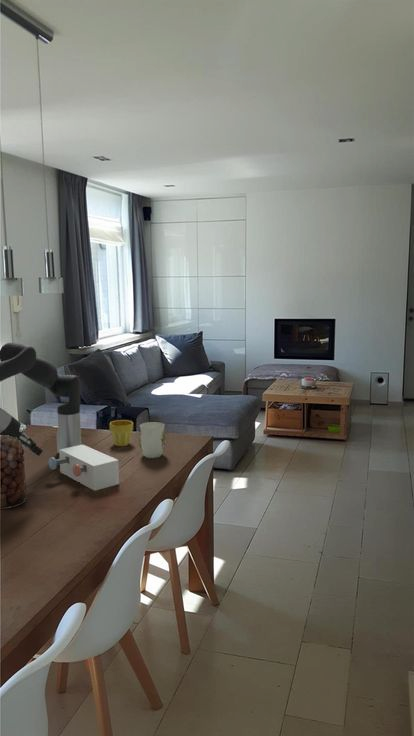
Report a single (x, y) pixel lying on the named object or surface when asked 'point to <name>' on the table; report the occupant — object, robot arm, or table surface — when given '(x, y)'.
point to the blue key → (57, 462)
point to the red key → (78, 469)
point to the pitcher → (152, 439)
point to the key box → (90, 467)
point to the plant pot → (121, 432)
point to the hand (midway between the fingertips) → (39, 453)
